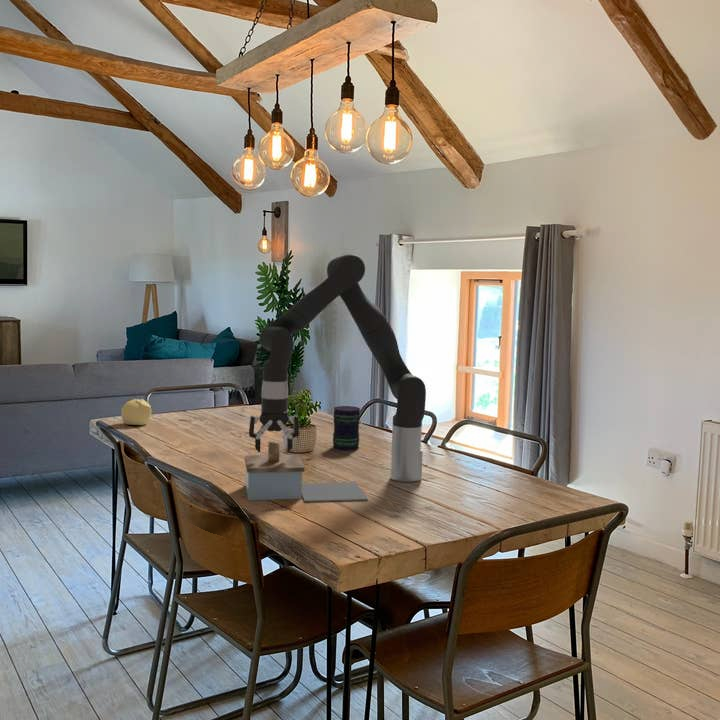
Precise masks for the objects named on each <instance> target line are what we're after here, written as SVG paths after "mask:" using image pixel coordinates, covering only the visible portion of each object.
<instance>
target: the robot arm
mask: <svg viewBox="0 0 720 720" xmlns="http://www.w3.org/2000/svg"><path fill="white" fill-rule="evenodd" d="M365 273H366V265H365V262H364V260H363V259H362V258H361V257H360V256H359V255H357V254H351V253H350V254H345V255H344V254H343V255H341V256H338V257H335V258H333V259H332V260H330V261H329V262H328V264H327V267H326V274H327V278H326V279H324V280H323V281H322V282H321V283H320V284H319V285H317V286H316V287H315V288H313V289H312V290H311V291H309V292H307V293H306V294H305V295H303V296H302V297H301V298H300V299H299V300H297V301H296V302H295V303H294V304H293V305H292V306H291V307H290V308H289V309H288V310H287V311H286V312H285V313H284V314H282V315H281V316H279V317H277V318H276V319H274V320H272V321H271V322H270V323H269V324H267V325H266V326H265V327H264V328H263V329H262V331H261V332H260V335H259V339H258V341H259V344H260V346H261V348H263V349H265V350H267V351H270V353H269V358H268V359H266V360H265V361H264V362H263V365H262V384H261V407H260V409H261V411H260V415H259V416H255V415H250V416H249V425H248V426H249V429H248V436H249V437H250V438H253V439H254V440H255V441H254V448H255V451H257V453H260V452H261V437H262V436H263V435H264V433H266V432H267V431H268V432H274V431H275V432H280V431H283V433H284V434H285V435H286V436H287V437H286V451H287V453H288V452H289V453H290V452H291V450H292V449H293V439H294V438H296V437H297V438H298V437H299V436H300V433H299V432H300V429H299V425H300V424H299V416H298V415H297V414H294V415H291V416H290V415H288V410H289V409H288V405H289V403H288V398H289V386H288V385H289V384H288V365H289V363H290V360H291V357H292V355H291V354H292V351H293V346H294V345H293V344H294V340H293V335H292V334H295V333H300V332H301V331H303V330H305V329H306V327H308V325H309V324H311V323H312V322H313V320H315V318H317V317H318V315H320V313H322V311H324V310H325V309H326V308H327V307H328V306H329V305H330V304H331V303H332V302H334V301H335V299H337V298H338V297H340V298H341V300H342V301H343V303H344V305H345V306H346V307H347V310H348V312H349V314H350V316H351V317H352V319H353V321H354V324H355V325H356V326H357V328H358V330H359V332H360V335H361V336H362V339H364V342H365V344H366V346H367V347H368V349H369V351H370V352H371V354H372V356H373V357H374V359H375V360H376V362H377V364H378V366H379V367H380V368H381V371H382V372H383V374H384V377H385V379H386V381H387V384H388V386H389V389H390V392H391V394H392V396H393V397H394V398H395V399H396V401H397V402H396V412H395V414H394V415H393V417H392V431H391V433H392V434H391V455H390V456H391V458H390V462H391V463H390V478H391V480H393V481H396V482H401V483H402V482H403V483H412V482H413V483H414V482H417V481H422V480H423V479H422V478H423V454H424V453H423V450H422V433H423V430H422V428H423V427H422V426H423V420H424V417H425V413H426V400H427V399H426V398H427V390H426V384H425V382H424V381H423V379H421V378H420V377H418V376H417V375H413V374H412V373H411V371H410V369H409V368H408V366H407V365H406V363H405V361H404V360H403V358H402V355H401V353H400V349H399V344H398V341H397V336H396V333H395V332H394V329H393V328H392V326H391V324H390V322H389V321H388V318H387V316H386V315H385V313H384V312H382V310H381V309H380V308H379V307H378V306H376V304H375V303H374V302H373V301H371V300H370V299H369V298H368V297H367V295H366V294H365V293H364V291H363V290H362V287H361V286H360V284H359V282H360V281H362V279H363V277H364V275H365ZM259 421H260V423H261V426H260V428H259V429H258V431H256V433H255V425H256V424H257V423H258V422H259ZM289 421H290V423H291V424H293V432H290V430H289V429H288V428H287V426H286V425H287V424H288V422H289Z"/></svg>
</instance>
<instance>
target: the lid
mask: <svg viewBox="0 0 720 720" xmlns="http://www.w3.org/2000/svg"><path fill="white" fill-rule="evenodd" d="M280 443H281V442H280V441H276V440H275V441H273V440H272V441H268V446H267V447H268V448H267V449H268V452H267V454H244V463H245V470H246V469H247V473H253V472H302V473H303V472H305V468H306V467H305V466H304V464H303V461H302V460H301V458H300V456H299V454H280V451H281V450H280V449H281V448H280V447H281V446H280V445H281V444H280Z"/></svg>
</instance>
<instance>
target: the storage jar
mask: <svg viewBox="0 0 720 720" xmlns="http://www.w3.org/2000/svg"><path fill="white" fill-rule="evenodd" d="M360 411H361V408H360V407H358V406H350V405H348V406H347V405H341V406H335V407H333V419H332V420H333V434H332V435H333V436H332V444H333V446H332V449H333V450H336V451H342V452H343V451H345V452H353V451H357V450H359V449H360V448H359V444H360V432H359V431H360V425H359V424H360V423H361V420H360V419H361V413H360Z"/></svg>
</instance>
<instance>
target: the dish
mask: <svg viewBox="0 0 720 720" xmlns="http://www.w3.org/2000/svg"><path fill="white" fill-rule="evenodd" d="M244 480H245V481H244V482H245V484H244V485H245V490H246V495H247V500H248V501H266V500H301V499H302V483H303V472H253V473H247V469H246V468H245V479H244Z"/></svg>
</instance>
